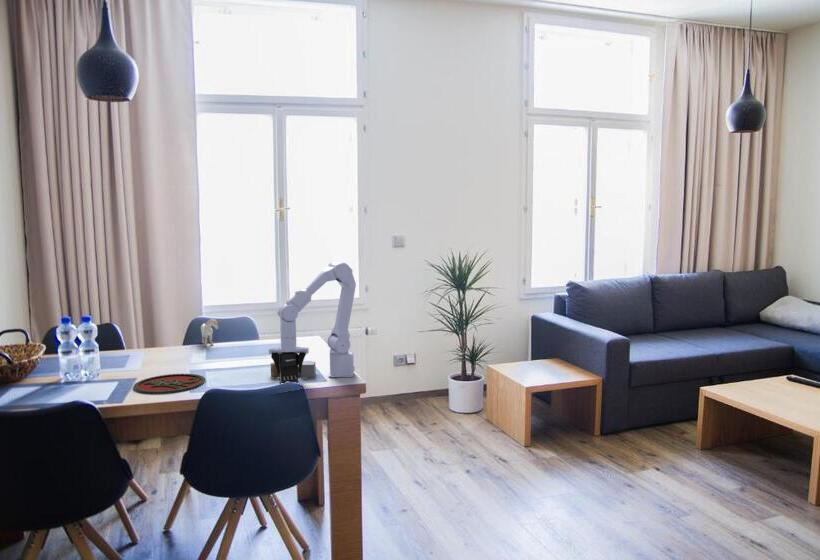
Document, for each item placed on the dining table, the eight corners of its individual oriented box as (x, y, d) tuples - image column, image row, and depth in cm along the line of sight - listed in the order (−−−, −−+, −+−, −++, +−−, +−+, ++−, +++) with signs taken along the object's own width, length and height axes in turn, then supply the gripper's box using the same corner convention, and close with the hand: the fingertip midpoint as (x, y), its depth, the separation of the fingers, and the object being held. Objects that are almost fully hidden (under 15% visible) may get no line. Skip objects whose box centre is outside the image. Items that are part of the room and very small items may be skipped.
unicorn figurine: (212, 349, 289) (211, 321, 288) (192, 343, 303) (191, 316, 301) (226, 346, 294) (225, 319, 293) (206, 341, 308) (205, 314, 306)
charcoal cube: (315, 374, 243) (315, 361, 243) (314, 377, 238) (313, 364, 238) (302, 374, 243) (302, 361, 243) (301, 377, 238) (300, 364, 238)
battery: (281, 383, 229) (281, 353, 228) (279, 381, 233) (278, 351, 232) (300, 381, 232) (299, 351, 231) (297, 379, 236) (296, 349, 235)
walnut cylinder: (284, 374, 243) (284, 361, 242) (282, 377, 238) (282, 365, 237) (272, 374, 243) (271, 362, 242) (269, 378, 238) (269, 365, 237)
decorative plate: (186, 392, 216) (119, 390, 219) (186, 395, 216) (119, 394, 219) (216, 374, 241) (155, 373, 243) (216, 377, 241) (156, 375, 244)
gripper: (309, 334, 235) (310, 369, 236) (270, 334, 234) (271, 369, 236) (306, 338, 228) (307, 374, 229) (267, 338, 227) (268, 374, 229)
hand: (289, 372), depth 232 cm, fingers open, 7 cm apart
